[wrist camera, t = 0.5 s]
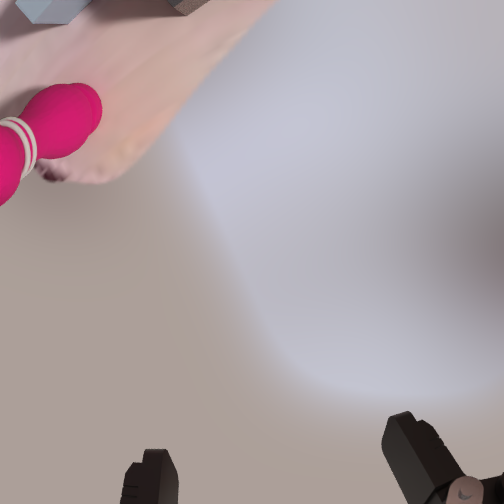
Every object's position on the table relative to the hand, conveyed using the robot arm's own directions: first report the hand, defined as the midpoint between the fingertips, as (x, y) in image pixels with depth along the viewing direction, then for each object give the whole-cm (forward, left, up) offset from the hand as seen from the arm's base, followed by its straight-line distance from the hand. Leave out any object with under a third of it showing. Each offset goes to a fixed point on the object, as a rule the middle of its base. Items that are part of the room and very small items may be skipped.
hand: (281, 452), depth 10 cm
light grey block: (-26, -3, -28) cm, 39 cm away
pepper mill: (-16, -11, -29) cm, 35 cm away
